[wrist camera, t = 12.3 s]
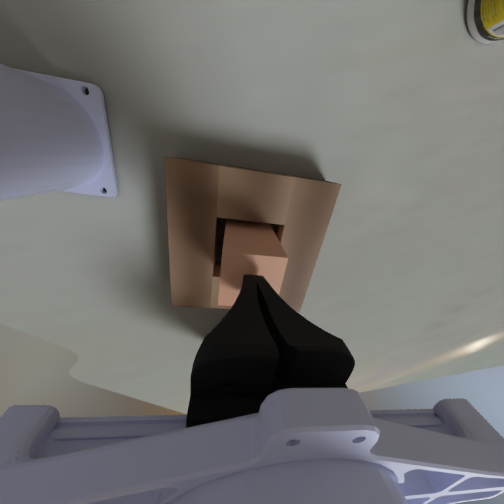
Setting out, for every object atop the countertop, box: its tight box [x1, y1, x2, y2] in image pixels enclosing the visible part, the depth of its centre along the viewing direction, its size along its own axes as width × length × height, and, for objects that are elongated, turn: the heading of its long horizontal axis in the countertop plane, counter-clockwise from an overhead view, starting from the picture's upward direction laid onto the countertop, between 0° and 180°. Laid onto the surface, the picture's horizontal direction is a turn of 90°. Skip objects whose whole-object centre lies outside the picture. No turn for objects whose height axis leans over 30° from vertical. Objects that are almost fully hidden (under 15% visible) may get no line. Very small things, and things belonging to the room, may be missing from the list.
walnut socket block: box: [164, 157, 341, 312], centre depth 19 cm, size 14×14×3 cm
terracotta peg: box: [218, 218, 288, 306], centre depth 17 cm, size 4×4×8 cm
